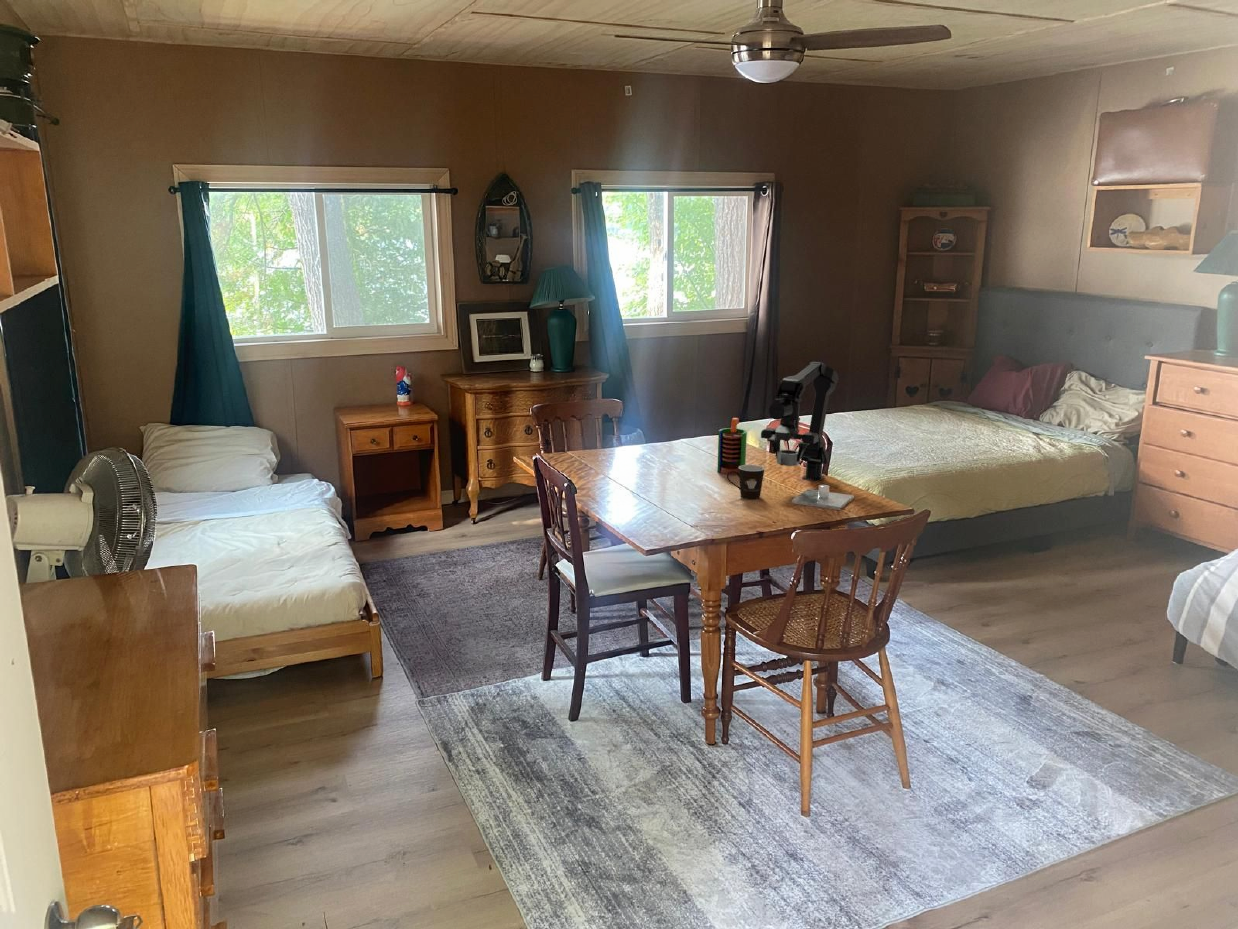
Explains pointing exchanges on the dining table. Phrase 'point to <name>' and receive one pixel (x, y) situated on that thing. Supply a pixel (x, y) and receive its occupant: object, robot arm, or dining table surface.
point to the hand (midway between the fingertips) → (788, 460)
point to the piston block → (823, 498)
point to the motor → (731, 448)
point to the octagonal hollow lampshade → (787, 457)
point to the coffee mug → (749, 481)
